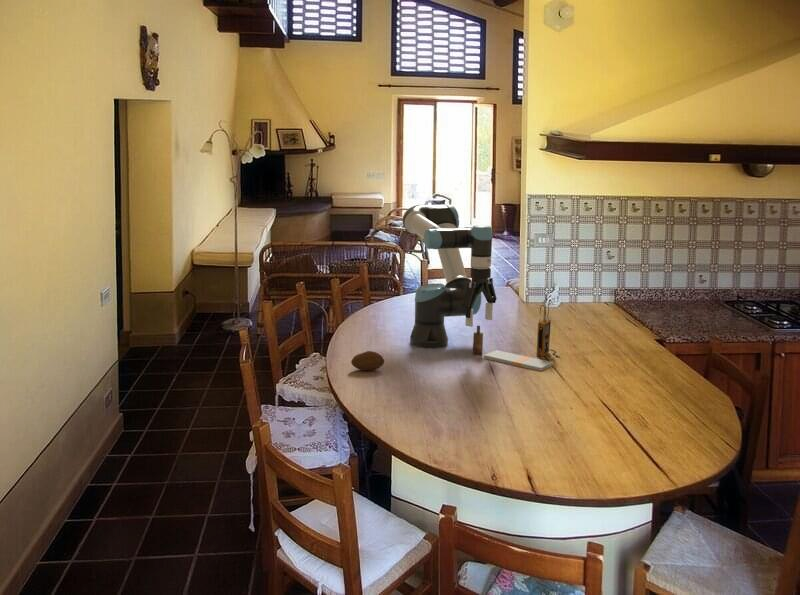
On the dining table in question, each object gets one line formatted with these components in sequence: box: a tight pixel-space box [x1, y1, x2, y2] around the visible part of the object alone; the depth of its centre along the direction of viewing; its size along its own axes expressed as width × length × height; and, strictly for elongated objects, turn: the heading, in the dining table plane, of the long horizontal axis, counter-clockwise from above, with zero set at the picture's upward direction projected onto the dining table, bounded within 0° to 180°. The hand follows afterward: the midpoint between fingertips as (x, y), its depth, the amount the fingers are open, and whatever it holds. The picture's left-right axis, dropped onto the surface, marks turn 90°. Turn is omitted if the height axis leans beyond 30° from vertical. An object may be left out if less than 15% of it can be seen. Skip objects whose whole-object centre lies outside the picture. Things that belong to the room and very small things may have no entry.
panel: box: [483, 349, 554, 372], centre depth 285 cm, size 24×9×1 cm, turn 52°
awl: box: [472, 324, 484, 356], centre depth 294 cm, size 4×4×11 cm
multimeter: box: [536, 301, 563, 361], centre depth 292 cm, size 15×10×20 cm
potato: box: [350, 350, 385, 371], centre depth 272 cm, size 7×12×7 cm, turn 101°
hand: (479, 322), depth 292 cm, fingers open, 13 cm apart
